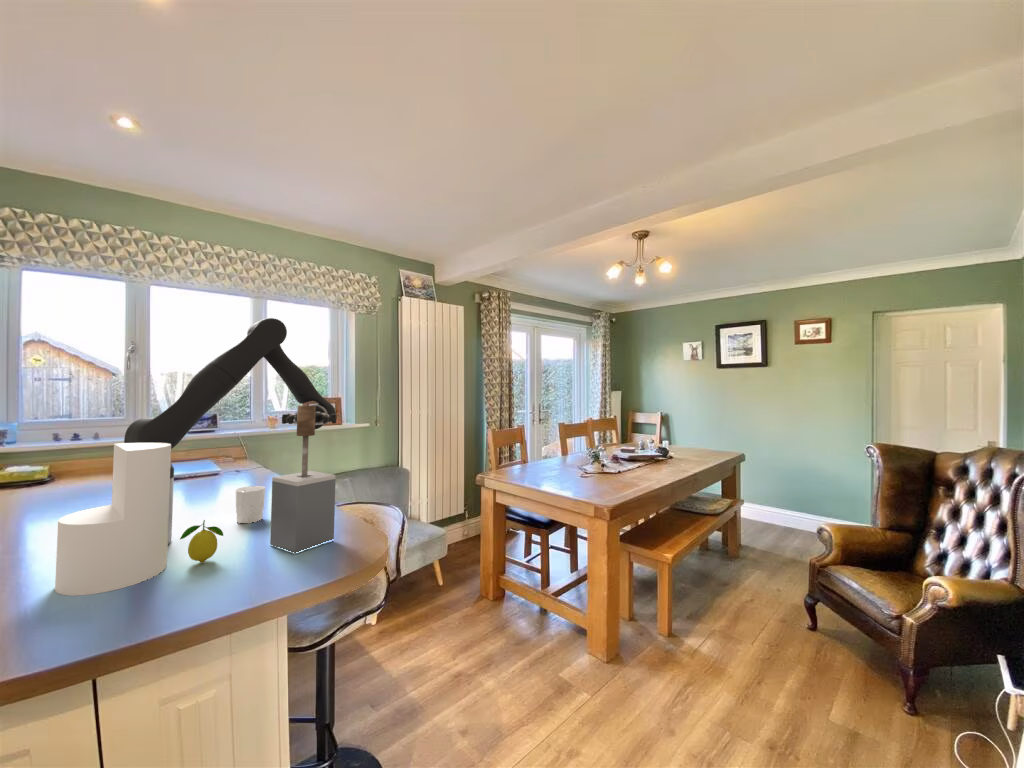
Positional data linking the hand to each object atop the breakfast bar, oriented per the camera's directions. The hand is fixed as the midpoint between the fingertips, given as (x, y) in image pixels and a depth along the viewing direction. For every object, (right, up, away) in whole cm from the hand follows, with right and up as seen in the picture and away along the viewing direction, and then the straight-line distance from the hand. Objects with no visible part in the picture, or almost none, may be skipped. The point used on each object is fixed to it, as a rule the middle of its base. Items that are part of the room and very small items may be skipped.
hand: (307, 420), depth 112 cm
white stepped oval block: (-30, -32, -24) cm, 50 cm away
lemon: (-16, -32, -17) cm, 40 cm away
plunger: (+1, -23, -3) cm, 23 cm away
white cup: (-26, -33, +15) cm, 45 cm away
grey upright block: (0, -33, -4) cm, 33 cm away
